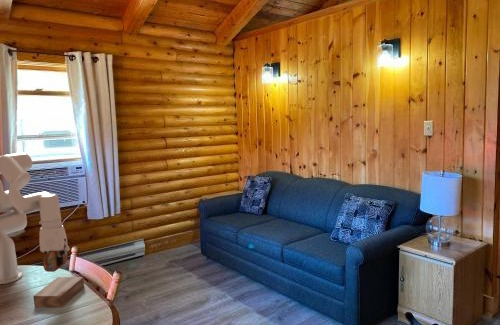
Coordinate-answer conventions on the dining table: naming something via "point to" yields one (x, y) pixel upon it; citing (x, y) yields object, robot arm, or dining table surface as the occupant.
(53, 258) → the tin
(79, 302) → the dining table surface
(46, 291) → the walnut block
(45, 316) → the dining table surface
